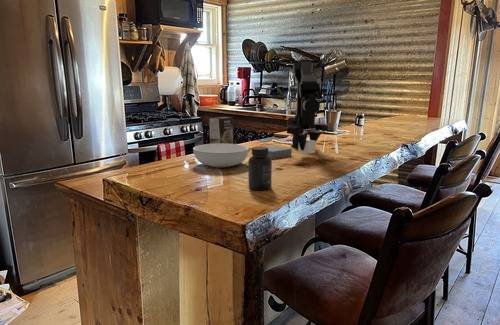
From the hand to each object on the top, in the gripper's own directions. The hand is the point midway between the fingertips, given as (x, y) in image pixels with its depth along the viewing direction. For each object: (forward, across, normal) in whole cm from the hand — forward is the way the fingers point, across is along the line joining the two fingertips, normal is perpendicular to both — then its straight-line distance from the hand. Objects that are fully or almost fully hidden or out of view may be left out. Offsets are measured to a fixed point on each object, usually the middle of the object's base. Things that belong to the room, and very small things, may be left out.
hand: (306, 149), depth 150 cm
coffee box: (+4, +24, -28) cm, 37 cm away
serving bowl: (+4, +36, -10) cm, 38 cm away
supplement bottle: (+4, +44, +23) cm, 50 cm away
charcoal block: (+4, +8, -12) cm, 15 cm away
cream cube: (+1, 0, 0) cm, 1 cm away
